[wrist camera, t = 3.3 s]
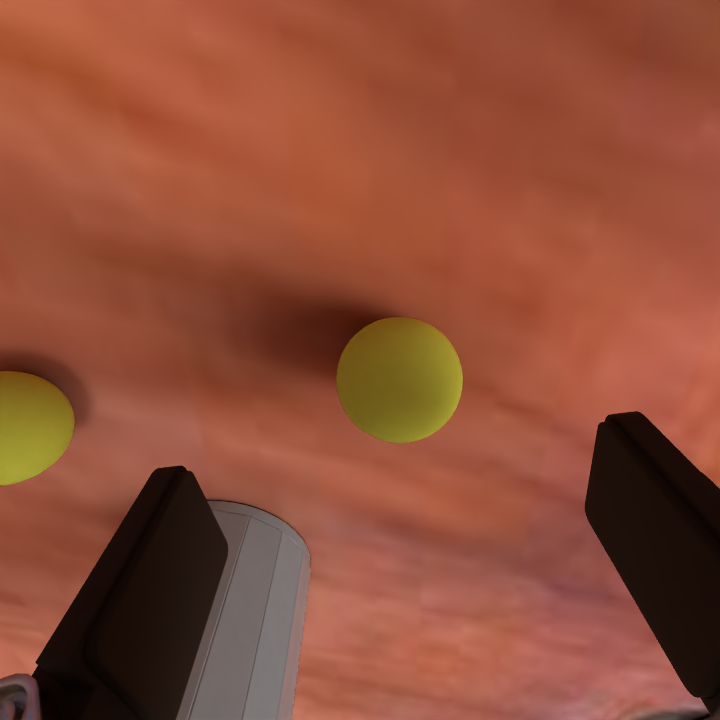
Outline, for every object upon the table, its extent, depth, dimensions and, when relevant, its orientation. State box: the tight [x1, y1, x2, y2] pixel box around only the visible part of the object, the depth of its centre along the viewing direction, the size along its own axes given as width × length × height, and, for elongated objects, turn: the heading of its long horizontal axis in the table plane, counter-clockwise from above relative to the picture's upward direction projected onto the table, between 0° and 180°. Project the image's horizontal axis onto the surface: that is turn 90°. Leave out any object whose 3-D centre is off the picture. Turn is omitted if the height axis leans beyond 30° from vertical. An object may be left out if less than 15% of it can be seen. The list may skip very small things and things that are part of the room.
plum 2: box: [336, 317, 463, 443], centre depth 13 cm, size 4×4×4 cm
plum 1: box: [0, 371, 75, 486], centre depth 14 cm, size 4×4×4 cm
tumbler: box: [176, 501, 311, 720], centre depth 17 cm, size 9×9×10 cm
